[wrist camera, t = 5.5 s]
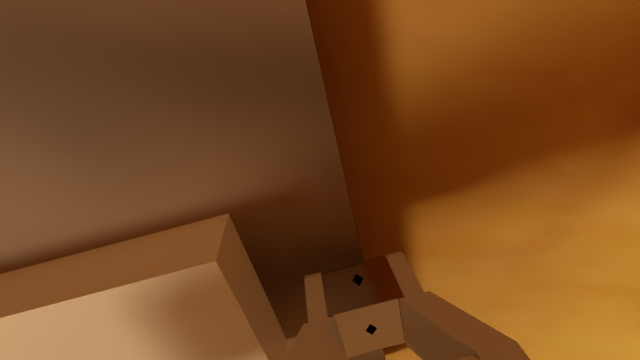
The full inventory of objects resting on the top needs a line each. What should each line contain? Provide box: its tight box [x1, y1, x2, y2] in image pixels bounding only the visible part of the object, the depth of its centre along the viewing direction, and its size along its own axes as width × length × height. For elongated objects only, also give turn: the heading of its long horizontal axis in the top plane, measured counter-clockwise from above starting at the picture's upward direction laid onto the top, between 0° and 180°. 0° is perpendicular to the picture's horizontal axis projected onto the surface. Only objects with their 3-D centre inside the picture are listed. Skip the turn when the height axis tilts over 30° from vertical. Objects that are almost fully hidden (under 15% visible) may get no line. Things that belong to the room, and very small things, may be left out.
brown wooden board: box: [0, 0, 385, 360], centre depth 11 cm, size 18×14×2 cm
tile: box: [0, 213, 287, 360], centre depth 9 cm, size 6×9×2 cm, turn 103°
